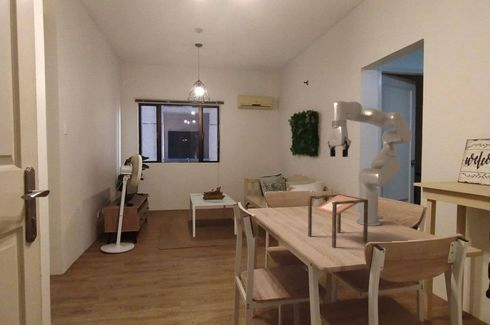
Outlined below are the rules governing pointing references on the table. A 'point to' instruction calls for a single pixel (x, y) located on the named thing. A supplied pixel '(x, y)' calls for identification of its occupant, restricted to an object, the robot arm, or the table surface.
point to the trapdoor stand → (338, 216)
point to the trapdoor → (328, 205)
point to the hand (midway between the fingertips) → (338, 156)
